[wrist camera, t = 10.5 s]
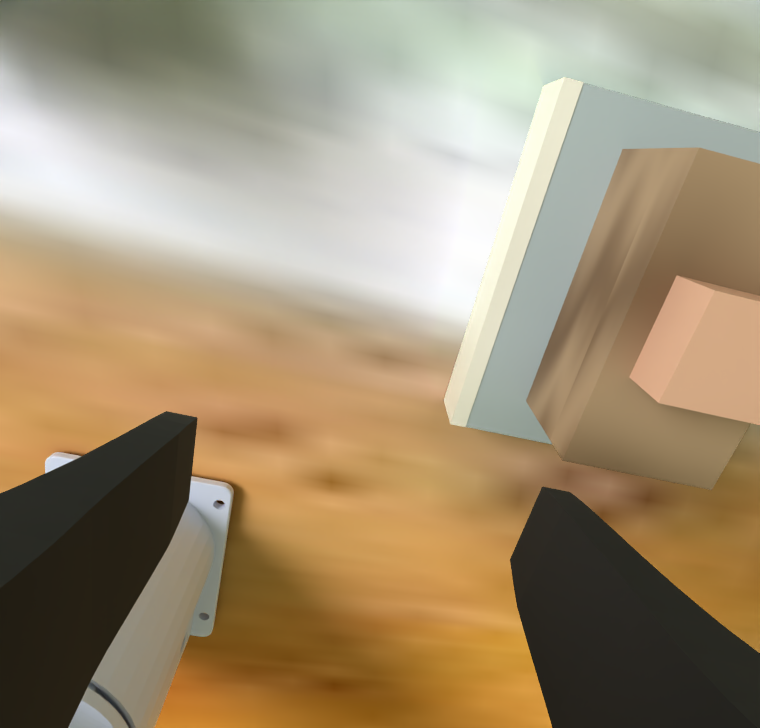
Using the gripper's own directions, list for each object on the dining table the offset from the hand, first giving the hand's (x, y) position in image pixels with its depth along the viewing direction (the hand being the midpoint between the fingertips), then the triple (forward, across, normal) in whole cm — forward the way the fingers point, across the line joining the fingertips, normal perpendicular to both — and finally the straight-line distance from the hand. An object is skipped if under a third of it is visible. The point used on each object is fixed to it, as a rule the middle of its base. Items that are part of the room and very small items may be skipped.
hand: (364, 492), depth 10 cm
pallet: (+8, -9, -4) cm, 13 cm away
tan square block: (+5, -9, -4) cm, 10 cm away
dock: (+11, -9, -4) cm, 14 cm away
